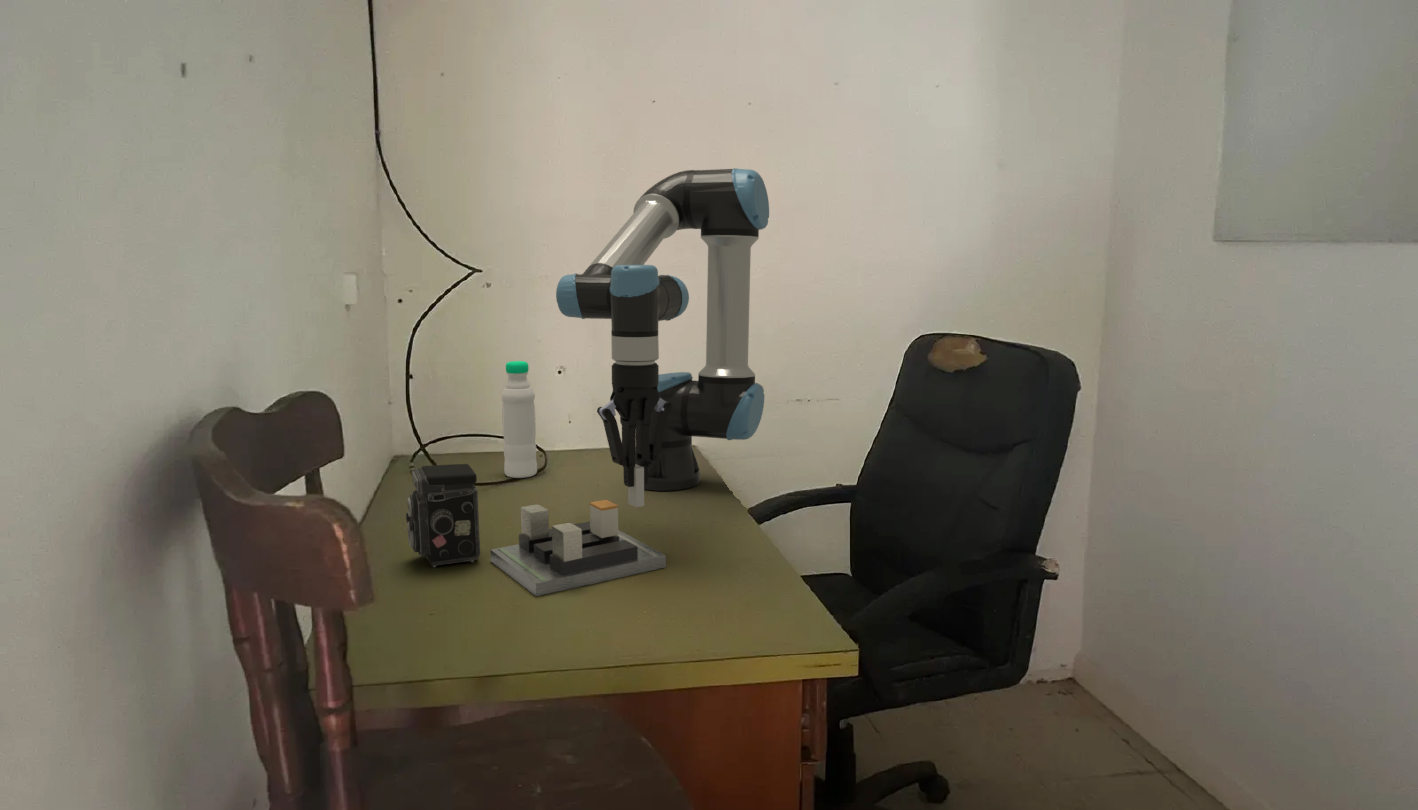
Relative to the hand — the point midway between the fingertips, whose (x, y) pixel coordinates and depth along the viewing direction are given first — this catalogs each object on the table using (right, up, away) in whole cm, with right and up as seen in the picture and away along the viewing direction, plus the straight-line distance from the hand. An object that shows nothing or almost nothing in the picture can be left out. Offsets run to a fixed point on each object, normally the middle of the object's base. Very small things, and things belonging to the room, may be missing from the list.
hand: (636, 504), depth 154 cm
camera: (-31, -9, -2) cm, 32 cm away
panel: (-9, -9, -4) cm, 13 cm away
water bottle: (-29, +1, +52) cm, 60 cm away
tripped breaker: (-5, -4, -2) cm, 7 cm away
